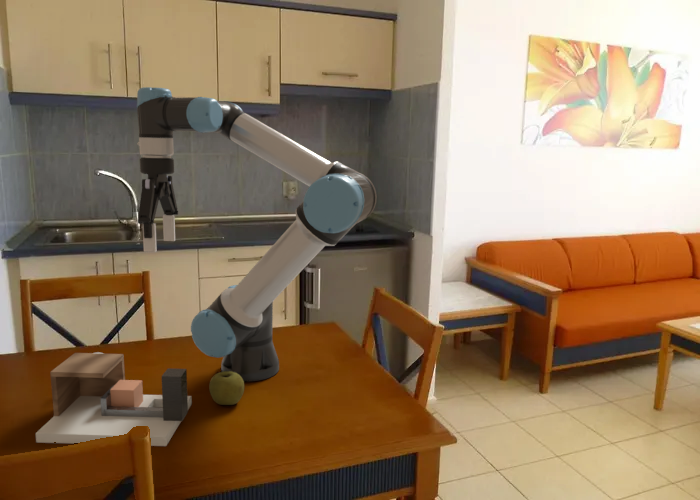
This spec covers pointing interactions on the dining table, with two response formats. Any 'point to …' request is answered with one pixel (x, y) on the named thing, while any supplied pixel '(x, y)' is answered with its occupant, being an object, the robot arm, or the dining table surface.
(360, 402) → the dining table surface
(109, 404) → the grey u-shaped bracket
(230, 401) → the apple
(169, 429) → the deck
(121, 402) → the cube
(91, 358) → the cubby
